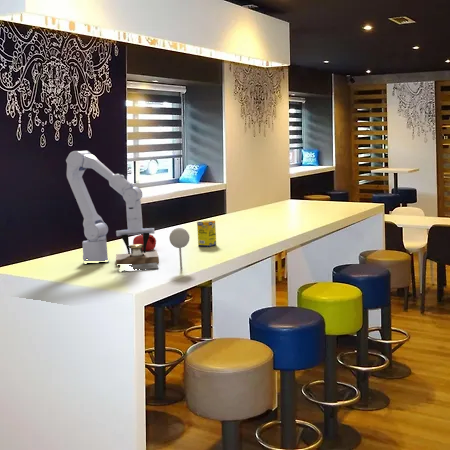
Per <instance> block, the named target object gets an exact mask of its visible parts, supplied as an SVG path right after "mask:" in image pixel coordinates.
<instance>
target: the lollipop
mask: <svg viewBox="0 0 450 450" xmlns="http://www.w3.org/2000/svg"><path fill="white" fill-rule="evenodd" d="M169 242H170V244H171V246H173V247H174V248H176V249H178V253H179V266H180V271H183V261H182V260H183V259H182V248H185V247H186V246H187V245H188V244H189V242H190V234H189V232H188V231H187V230H186V229H184V228H183V227H178V228H174V229H172V231H171V232H170V234H169Z"/></svg>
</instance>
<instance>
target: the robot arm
mask: <svg viewBox="0 0 450 450" xmlns="http://www.w3.org/2000/svg"><path fill="white" fill-rule="evenodd" d="M65 162H66V179H67V181H68V184H69V185H70V188H71V191H72V193H73V196H74V198H75V199H76V200H75V201H76V202H77V205H78V208H79V210H80V213H81V215H82V217H83V221H82V226H83V233H84V237H85V238H86V239H87V240H83V241H82V259H83V262H84V261H105V260H108V258H109V257H108V246H107V245H108V243H107V234H108V232H109V227H108V225H107V223H105V222H104V220H103V218H102V216H101V215H99V214H98V212H97V210H96V208H95V205H94V203H93V201H92V198H91V196H90V193H89V190H88V188H87V186H86V184H85V182H84V178H83V175H84V173H85V171H86V170H87V169H92V170H93V171H95V172H96V173H97V174H99V175H100V176H101V177H103V178H104V179H105V180H107V181H108V184H109V187H111V188H112V189H113V190H114V191H116V192H117V193H118V194H119V195H121V196H122V198H123V200H124V201H125V206H126V207H125V208H126V222H127V223H126V224H127V229H121V230H120V229H119V230H116V231H115V234H116V237H121V239H122V240H123V243H124V245H125V247H126V250H127V254H130V253H131V248H129V246H130V244H129V243H130V242H129V239H130V238H129V236H135V235H136V236H138V235H141V234H143V251H142V252H144V253H146V252H147V251H146V245H147V242H148V239H149V236H150V235H152V234H155V227H149V228H147V227H145V228H143V215H142V198H143V191H142V189H141V188H140V187H139V186H138V185H137V186H135V185H134V183H132V182H129V180H127V179H126V178H125V175H123V174H121V173H114V172H113V171H112V170H111V169H109V168H108V167H107V166H106V165H105V163H102V162H101V161H100V160H99V159H98V158H97V157H96V156H95V155H94V154H92V153H91V152H90V151H89V150H73V151H71V152H70V153H69V154H68V156H67V157H66V159H65ZM137 234H138V235H137ZM149 234H150V235H149ZM86 259H88V260H86Z"/></svg>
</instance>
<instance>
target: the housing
mask: <svg viewBox="0 0 450 450" xmlns="http://www.w3.org/2000/svg"><path fill="white" fill-rule="evenodd" d="M142 252H143V256H140V257H131V252H130V254H128V253H117V254H116V255H115V264H145V263H157V264H159V263H160V256H159V254H158V252H157V250H156V251H146V253H144V251H142Z"/></svg>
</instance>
